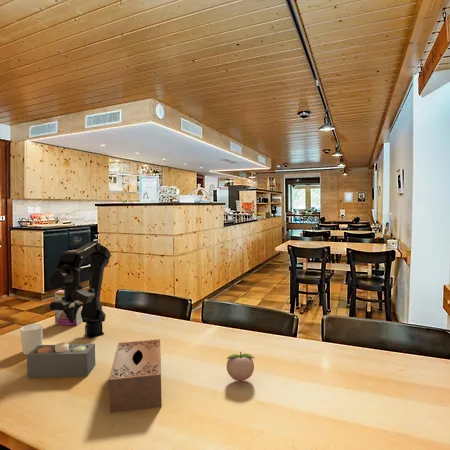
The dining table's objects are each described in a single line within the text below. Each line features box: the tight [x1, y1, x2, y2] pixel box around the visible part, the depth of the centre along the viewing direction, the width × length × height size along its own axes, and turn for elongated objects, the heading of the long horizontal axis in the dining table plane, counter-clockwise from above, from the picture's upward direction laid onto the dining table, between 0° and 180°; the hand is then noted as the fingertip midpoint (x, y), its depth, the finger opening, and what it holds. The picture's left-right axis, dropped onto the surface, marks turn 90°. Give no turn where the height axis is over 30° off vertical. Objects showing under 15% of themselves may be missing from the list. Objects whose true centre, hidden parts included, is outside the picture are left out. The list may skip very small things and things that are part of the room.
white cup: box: [19, 323, 44, 356], centre depth 135 cm, size 8×8×10 cm
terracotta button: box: [37, 347, 52, 353], centre depth 118 cm, size 4×4×4 cm
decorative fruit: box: [226, 351, 255, 382], centre depth 111 cm, size 9×8×10 cm
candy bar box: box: [53, 289, 82, 327], centre depth 165 cm, size 11×5×16 cm, turn 84°
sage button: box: [73, 346, 86, 352], centre depth 119 cm, size 4×4×4 cm
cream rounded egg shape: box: [54, 341, 70, 352], centre depth 119 cm, size 4×4×4 cm
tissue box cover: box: [108, 338, 163, 414], centre depth 109 cm, size 26×14×10 cm, turn 11°
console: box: [26, 343, 96, 379], centre depth 119 cm, size 8×20×8 cm, turn 93°
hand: (72, 322), depth 134 cm, fingers closed
